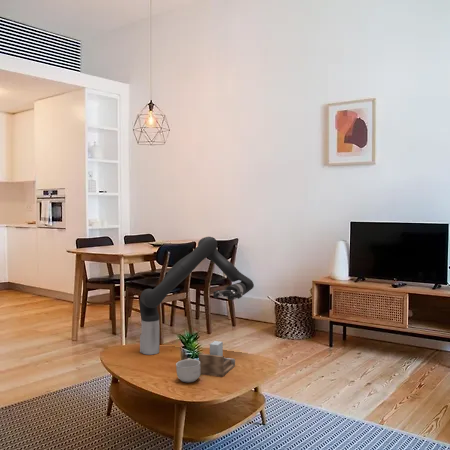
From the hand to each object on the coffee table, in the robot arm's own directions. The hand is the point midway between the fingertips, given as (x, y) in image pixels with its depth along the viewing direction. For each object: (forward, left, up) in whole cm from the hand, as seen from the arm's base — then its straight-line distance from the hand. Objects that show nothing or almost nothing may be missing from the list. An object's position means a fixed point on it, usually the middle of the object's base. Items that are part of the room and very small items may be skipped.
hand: (222, 296), depth 244 cm
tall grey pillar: (+3, -15, -31) cm, 35 cm away
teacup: (-4, -30, -32) cm, 44 cm away
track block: (+3, -14, -32) cm, 35 cm away
